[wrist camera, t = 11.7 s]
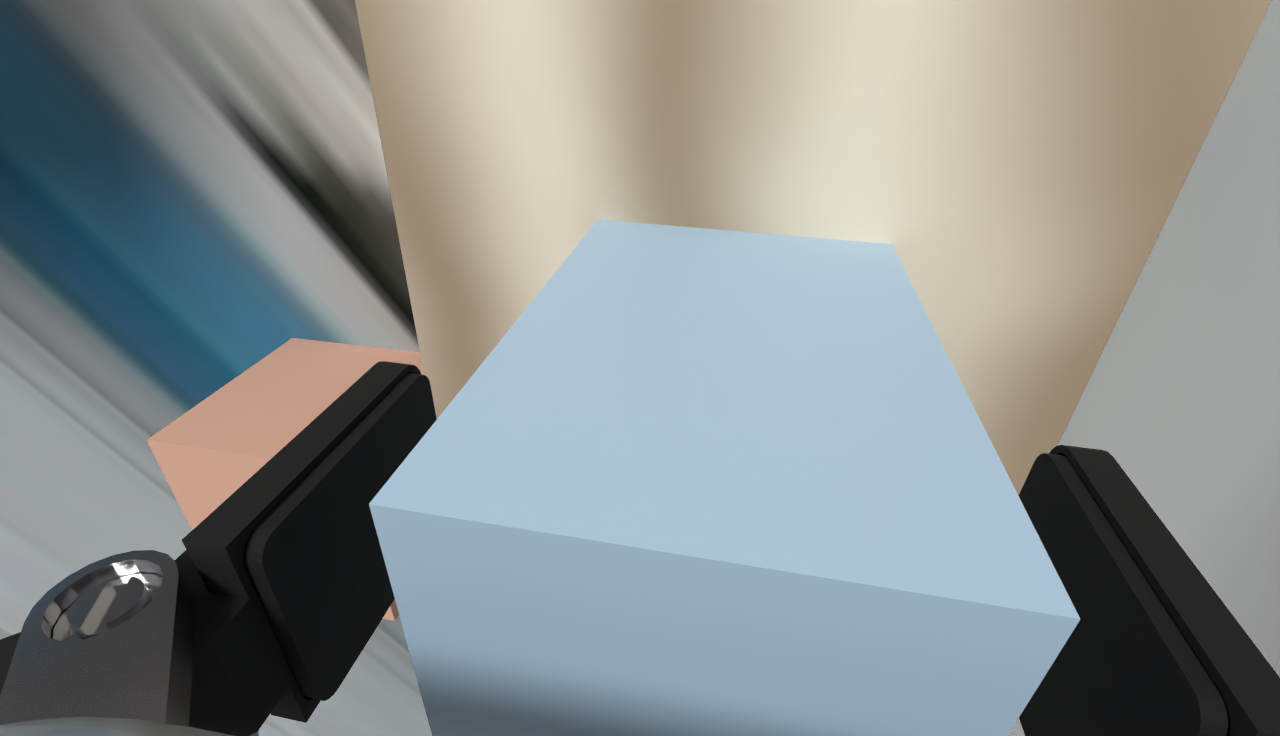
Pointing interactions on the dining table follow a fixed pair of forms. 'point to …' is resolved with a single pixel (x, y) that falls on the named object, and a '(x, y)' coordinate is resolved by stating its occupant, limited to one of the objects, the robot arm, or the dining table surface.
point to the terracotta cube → (258, 420)
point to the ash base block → (808, 156)
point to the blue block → (718, 509)
